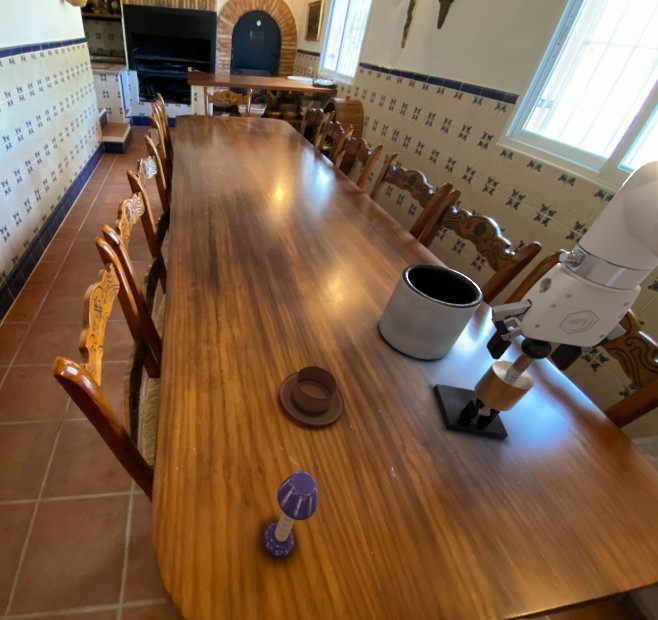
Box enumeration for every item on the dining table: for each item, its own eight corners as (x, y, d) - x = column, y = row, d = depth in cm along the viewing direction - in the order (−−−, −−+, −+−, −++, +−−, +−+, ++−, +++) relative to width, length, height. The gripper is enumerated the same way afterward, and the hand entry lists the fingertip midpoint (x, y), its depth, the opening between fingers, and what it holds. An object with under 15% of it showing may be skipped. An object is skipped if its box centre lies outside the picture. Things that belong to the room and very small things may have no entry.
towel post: (503, 430, 62) (576, 357, 50) (467, 424, 62) (531, 349, 51) (489, 402, 67) (553, 329, 55) (456, 396, 67) (512, 322, 55)
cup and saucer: (272, 378, 71) (277, 357, 67) (330, 376, 73) (337, 355, 69) (285, 432, 62) (291, 412, 58) (350, 428, 64) (361, 408, 60)
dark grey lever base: (504, 440, 64) (528, 416, 59) (446, 429, 65) (466, 405, 60) (484, 397, 71) (505, 373, 67) (433, 388, 72) (449, 364, 68)
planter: (363, 323, 86) (385, 269, 76) (411, 308, 92) (437, 257, 82) (413, 371, 76) (446, 316, 66) (464, 351, 81) (502, 297, 71)
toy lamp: (264, 517, 52) (282, 460, 41) (296, 522, 51) (323, 467, 41) (261, 555, 48) (281, 503, 37) (296, 561, 48) (325, 511, 37)
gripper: (546, 272, 43) (474, 366, 54) (704, 294, 41) (597, 387, 52) (518, 242, 49) (459, 333, 60) (656, 261, 47) (569, 350, 58)
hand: (523, 358), depth 56 cm, fingers open, 9 cm apart
